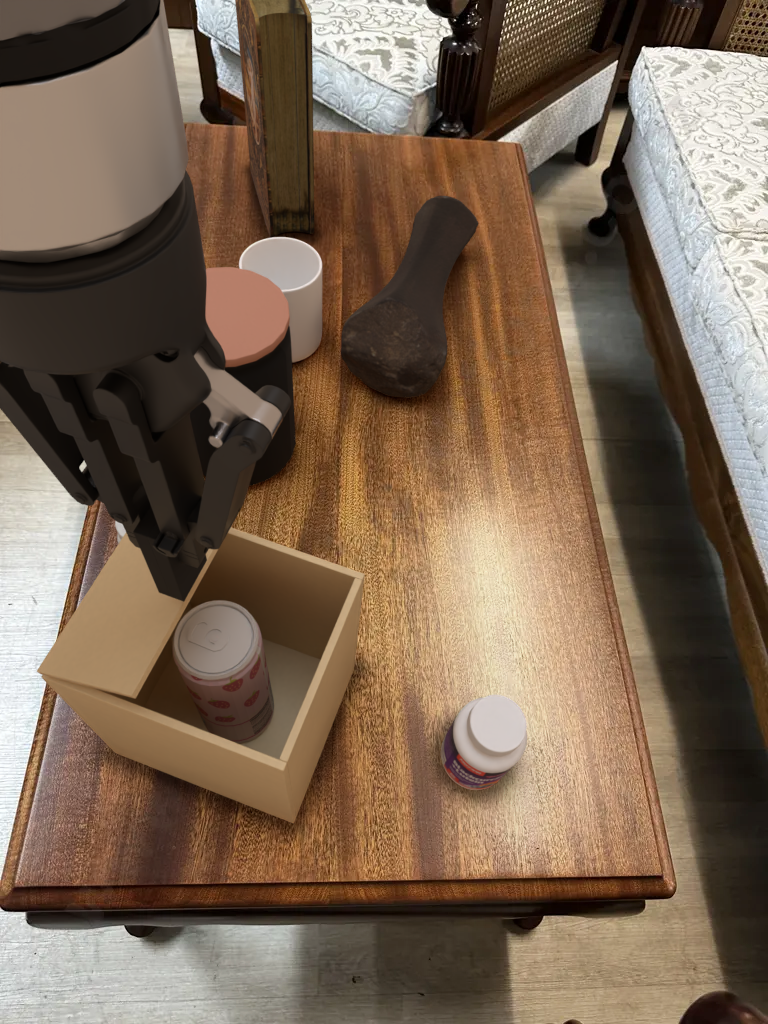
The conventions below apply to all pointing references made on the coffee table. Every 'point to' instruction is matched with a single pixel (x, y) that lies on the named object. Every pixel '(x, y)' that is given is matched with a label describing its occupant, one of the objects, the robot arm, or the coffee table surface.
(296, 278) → the mug
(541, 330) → the coffee table surface
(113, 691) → the flap
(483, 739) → the pill bottle
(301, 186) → the book
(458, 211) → the dark brown bone
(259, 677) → the beverage can
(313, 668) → the carton
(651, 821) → the coffee table surface
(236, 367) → the coffee jar
